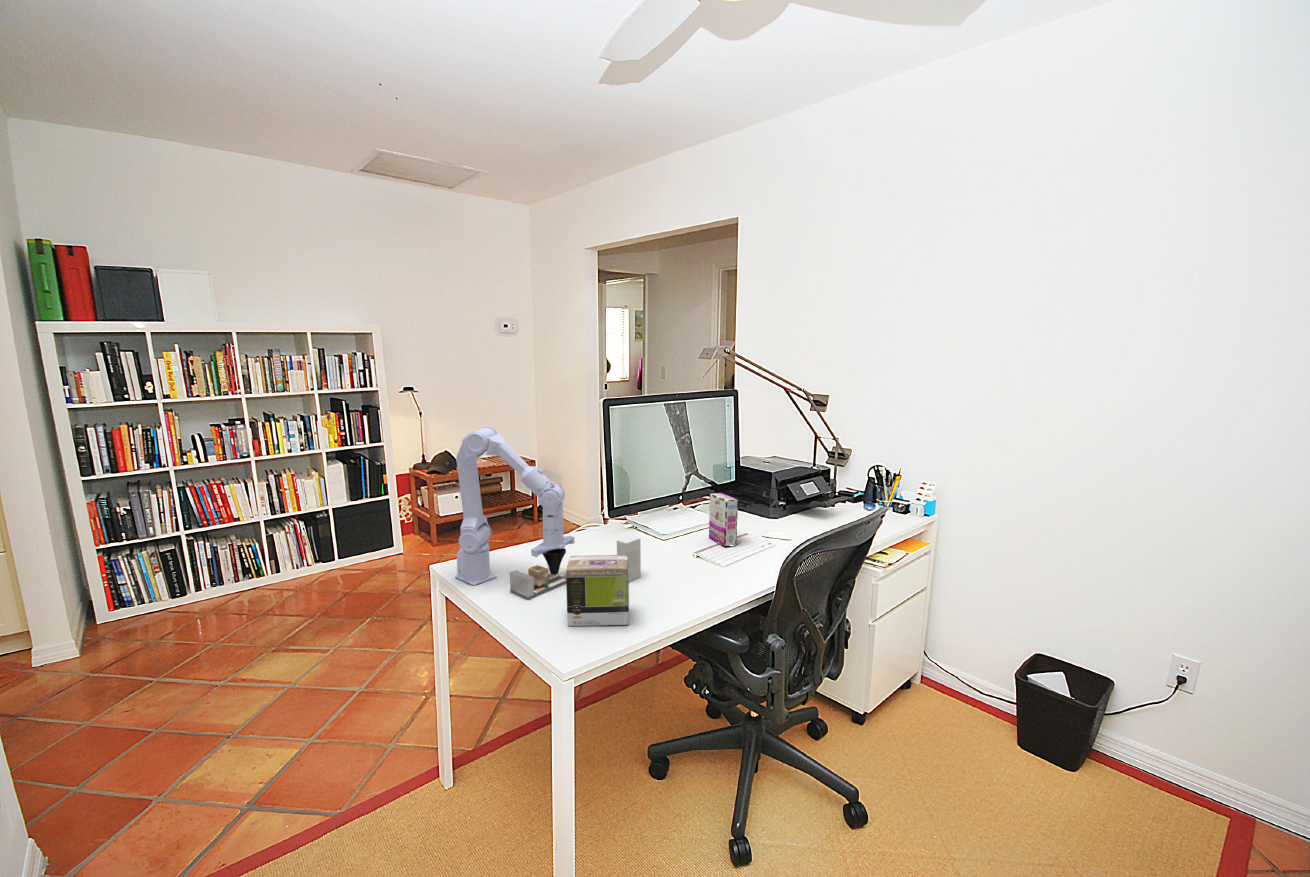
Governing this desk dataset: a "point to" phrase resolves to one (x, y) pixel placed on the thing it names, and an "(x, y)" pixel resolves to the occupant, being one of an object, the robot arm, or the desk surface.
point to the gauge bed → (532, 584)
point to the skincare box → (631, 554)
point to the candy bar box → (723, 519)
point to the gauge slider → (539, 575)
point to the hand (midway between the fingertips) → (554, 573)
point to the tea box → (597, 590)
